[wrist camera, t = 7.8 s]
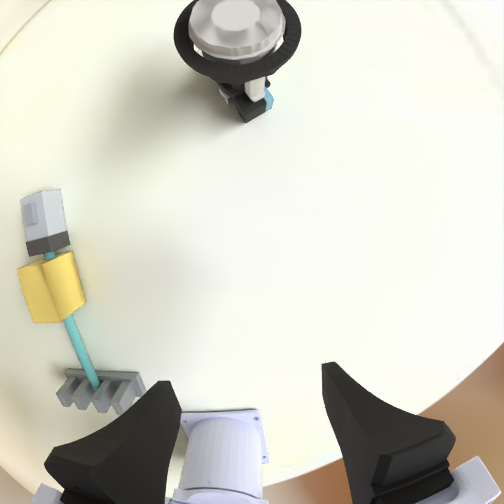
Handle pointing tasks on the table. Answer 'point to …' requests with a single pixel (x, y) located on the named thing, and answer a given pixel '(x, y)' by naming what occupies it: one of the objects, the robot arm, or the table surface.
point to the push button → (239, 46)
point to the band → (47, 243)
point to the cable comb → (101, 390)
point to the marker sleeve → (52, 288)
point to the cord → (79, 344)
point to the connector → (43, 214)
